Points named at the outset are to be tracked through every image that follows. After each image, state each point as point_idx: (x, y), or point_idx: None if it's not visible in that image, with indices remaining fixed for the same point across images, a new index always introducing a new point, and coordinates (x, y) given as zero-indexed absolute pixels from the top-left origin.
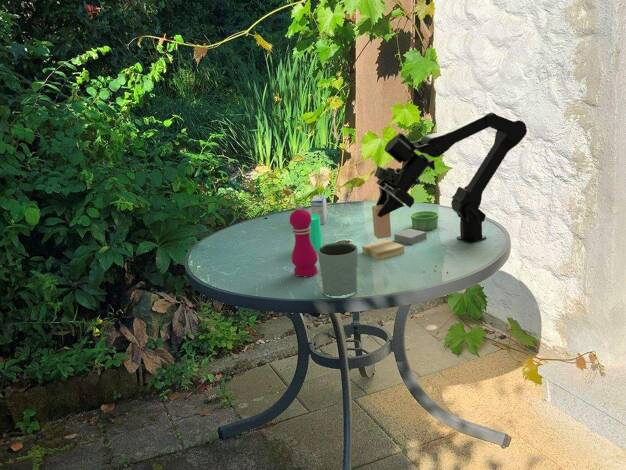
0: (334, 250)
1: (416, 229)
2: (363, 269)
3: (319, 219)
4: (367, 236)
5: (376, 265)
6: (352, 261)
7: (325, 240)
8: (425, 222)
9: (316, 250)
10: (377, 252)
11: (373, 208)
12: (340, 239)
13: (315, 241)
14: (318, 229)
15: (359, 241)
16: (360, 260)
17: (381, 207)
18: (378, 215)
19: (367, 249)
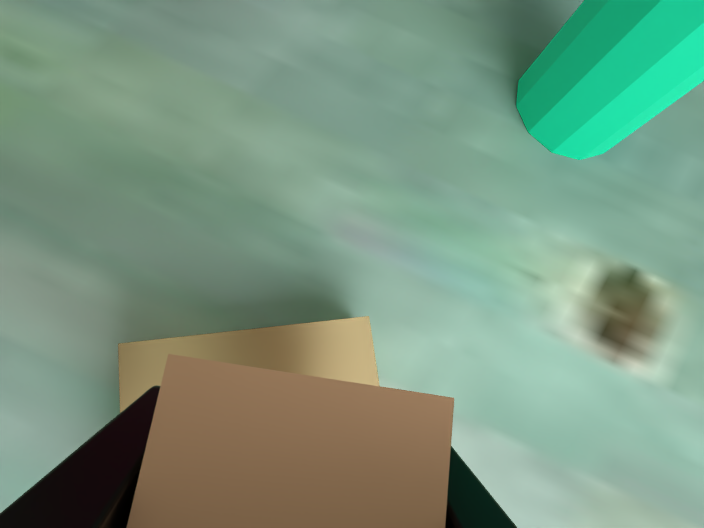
0: None
1: None
2: (19, 174)
3: (701, 4)
4: (671, 511)
5: (26, 281)
6: None
7: (698, 233)
8: None
9: (521, 97)
10: (135, 343)
11: (351, 384)
12: (681, 317)
13: (554, 60)
14: (618, 36)
15: (589, 409)
16: (206, 238)
17: (211, 525)
18: (150, 395)
19: (288, 325)
